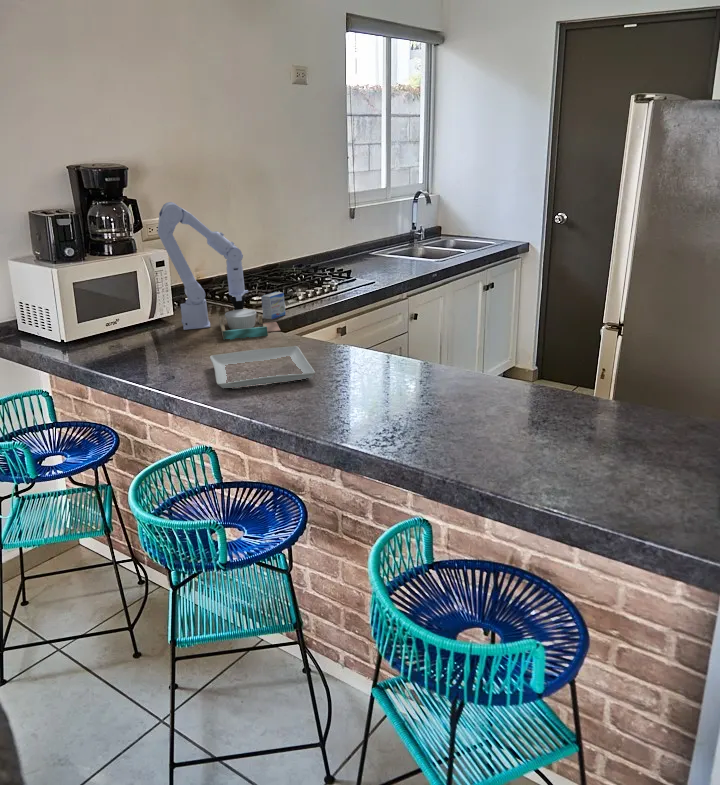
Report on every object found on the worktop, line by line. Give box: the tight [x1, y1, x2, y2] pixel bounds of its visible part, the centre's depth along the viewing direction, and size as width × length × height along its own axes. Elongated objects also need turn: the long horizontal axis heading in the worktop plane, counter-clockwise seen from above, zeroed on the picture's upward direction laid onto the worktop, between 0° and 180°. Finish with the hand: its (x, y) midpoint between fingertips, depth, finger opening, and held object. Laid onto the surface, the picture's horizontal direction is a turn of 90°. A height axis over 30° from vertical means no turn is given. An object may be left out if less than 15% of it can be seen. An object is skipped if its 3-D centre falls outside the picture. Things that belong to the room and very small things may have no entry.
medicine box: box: [260, 291, 286, 320], centre depth 265 cm, size 8×4×9 cm, turn 143°
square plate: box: [209, 345, 316, 389], centre depth 205 cm, size 27×27×4 cm
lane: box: [219, 313, 282, 341], centre depth 250 cm, size 20×20×3 cm
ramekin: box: [224, 308, 257, 330], centre depth 254 cm, size 11×11×5 cm
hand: (239, 315), depth 262 cm, fingers closed
